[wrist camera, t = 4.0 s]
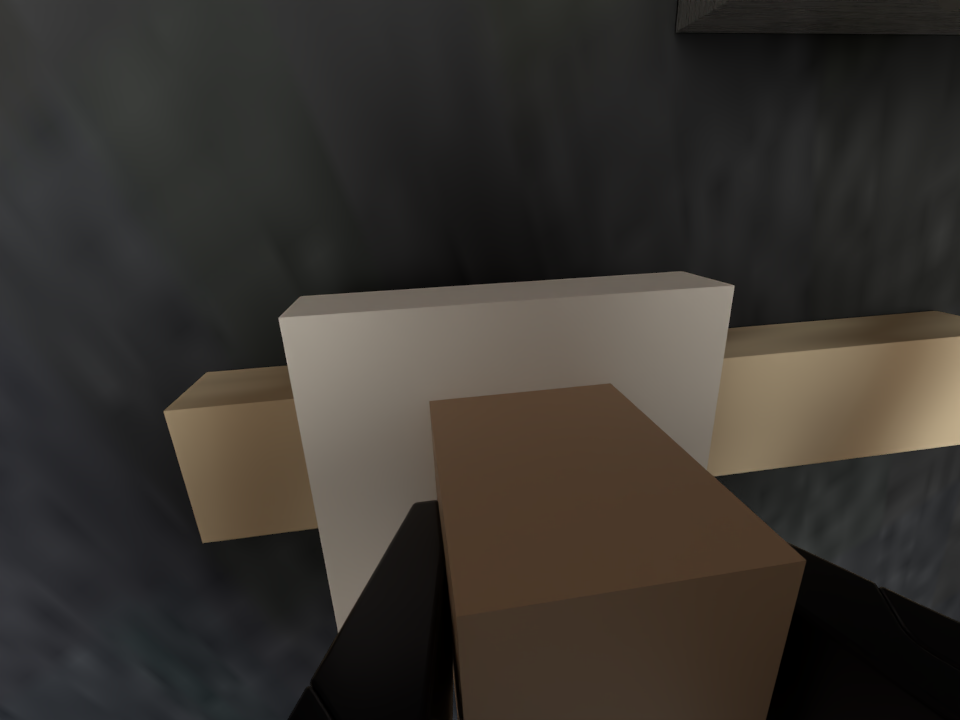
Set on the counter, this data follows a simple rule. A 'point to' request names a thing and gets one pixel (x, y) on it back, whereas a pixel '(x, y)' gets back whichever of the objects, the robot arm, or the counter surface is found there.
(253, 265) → the counter surface
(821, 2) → the cabinet
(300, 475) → the rail
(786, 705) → the robot arm
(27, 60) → the counter surface
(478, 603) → the carriage
